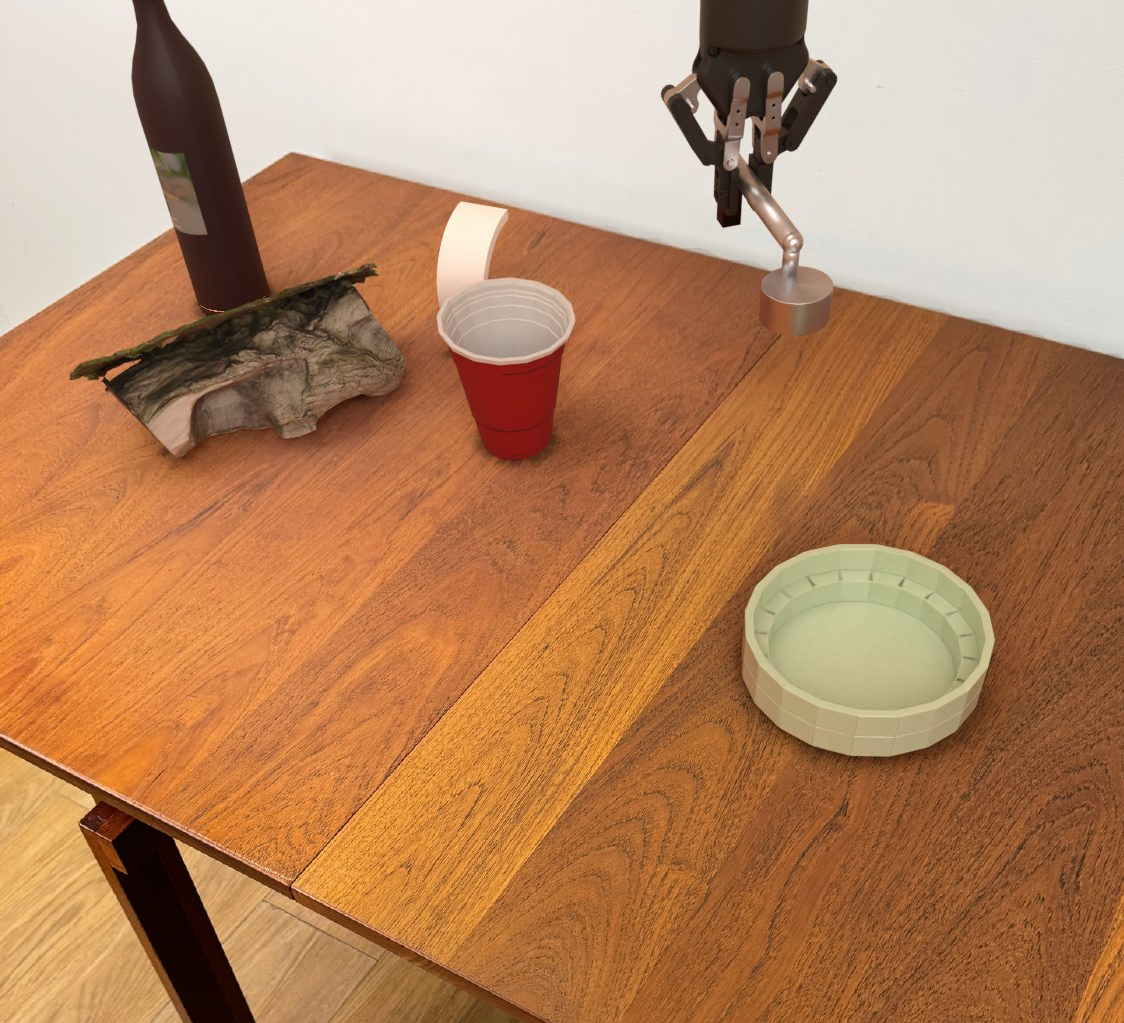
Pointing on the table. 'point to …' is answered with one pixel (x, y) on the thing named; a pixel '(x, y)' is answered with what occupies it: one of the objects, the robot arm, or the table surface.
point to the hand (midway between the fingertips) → (741, 207)
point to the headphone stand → (467, 247)
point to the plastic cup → (508, 359)
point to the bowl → (865, 649)
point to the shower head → (783, 266)
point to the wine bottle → (194, 163)
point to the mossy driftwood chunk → (257, 365)
